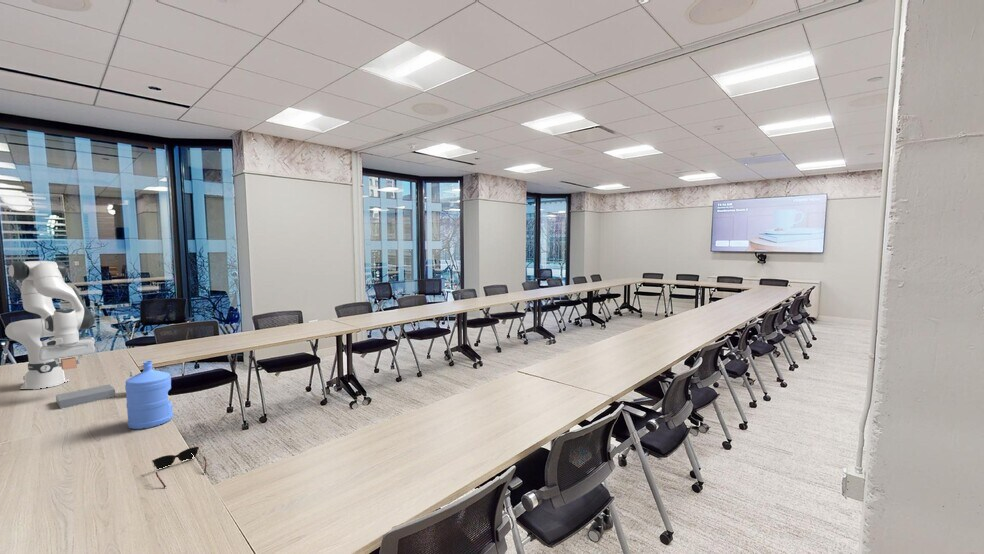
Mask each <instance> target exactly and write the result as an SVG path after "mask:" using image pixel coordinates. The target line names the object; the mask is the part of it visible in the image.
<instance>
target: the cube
mask: <svg viewBox="0 0 984 554" xmlns="http://www.w3.org/2000/svg"><path fill="white" fill-rule="evenodd" d="M76 360H77V358H76V356H72V357H65V358H60V363H62V366H61V367H62V369H63V370H64V371H66V370H72V369H76V368H78V364H77V363H76Z"/></svg>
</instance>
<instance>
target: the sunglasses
mask: <svg viewBox="0 0 984 554" xmlns="http://www.w3.org/2000/svg"><path fill="white" fill-rule="evenodd" d="M198 451H200V454H201V455H202V457H203V458H202V459H203V460H204V471H203V474H204V473H205V475H206V472H207V459H206V457H205V455H204V454H203V452H202V450H201V448H200V446H193V447H189V448H186V449H184V450H182V451H180V452H179V453H177V454H176V455H174V454H170V455H169V454H168V455H164V456H163V455H162V456H160V457H157V458H154V459H152V460H151V463H152V467H153V469H154V472H155V473H154V474H155V475H156V478H158V480H159V482H160V483H161V484H162V486H163V488H164V487H167V485H166V484H165V483H164V481H163V480H162V478H161V477H160V475H159V473H158V472H157V469H159V468H163V467H165V466H168V465H171V466H172V465H173V463H174V462H175V460H176V458H177V459H178V460H179V461H180V462H182V461H183V460H186V459H192V457H193V455H194V457H195V458H196V456H197V454H198ZM191 453H192V454H193V455H192V454H191ZM192 460H193V459H192Z"/></svg>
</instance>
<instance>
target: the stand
mask: <svg viewBox="0 0 984 554" xmlns="http://www.w3.org/2000/svg"><path fill="white" fill-rule="evenodd" d="M114 396H115V397H116V389H115V388H114V387H113V386H112V385H111V384H103V385H101V386H100V385H99V386H95V387H94V386H93V387H89V388H84V389H78V390H75V391H74V390H73V391H69V392H64V393H60V394H55V402H56V403H55V404H57V406H58V407H59V409H60V410H61V408H62V409H65V408H71V407H74V405H75V406H80V405H83V404H87V403H88V402H89V403H94V402H98V401H102V400H101V399H103V400H106V399H105V398H107V399H110V397H112V398H115V397H114ZM97 400H98V401H97ZM93 401H94V402H93ZM89 403H88V404H89ZM79 404H80V405H79ZM70 406H71V407H70Z"/></svg>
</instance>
